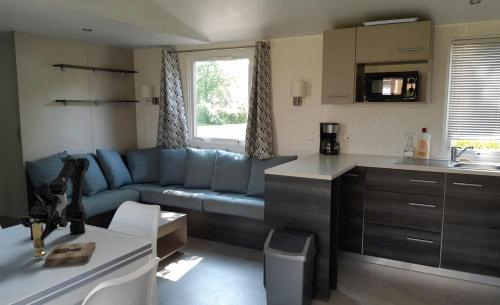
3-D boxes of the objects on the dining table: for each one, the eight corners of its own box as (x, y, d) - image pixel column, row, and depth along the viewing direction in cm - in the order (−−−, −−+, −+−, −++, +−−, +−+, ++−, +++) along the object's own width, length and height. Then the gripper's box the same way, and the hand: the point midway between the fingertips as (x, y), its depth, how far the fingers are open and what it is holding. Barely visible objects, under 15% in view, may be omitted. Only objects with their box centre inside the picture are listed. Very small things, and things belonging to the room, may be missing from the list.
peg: (47, 252, 159) (44, 221, 157) (44, 256, 155) (42, 224, 153) (35, 253, 158) (32, 222, 156) (33, 257, 154) (30, 225, 152)
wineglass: (49, 228, 196) (46, 190, 193) (62, 224, 202) (60, 187, 200) (59, 230, 192) (55, 191, 190) (71, 226, 199) (69, 188, 196)
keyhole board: (45, 266, 148) (44, 259, 148) (56, 251, 164) (55, 245, 163) (88, 262, 152) (88, 255, 152) (95, 248, 167) (95, 241, 167)
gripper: (19, 198, 158) (4, 231, 148) (62, 198, 157) (49, 231, 147) (32, 210, 166) (18, 243, 157) (72, 210, 166) (61, 243, 156)
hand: (36, 240), depth 154 cm, fingers closed on peg, 4 cm apart
